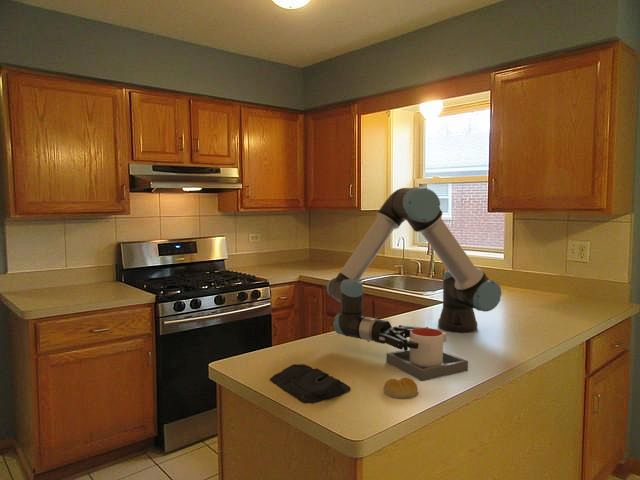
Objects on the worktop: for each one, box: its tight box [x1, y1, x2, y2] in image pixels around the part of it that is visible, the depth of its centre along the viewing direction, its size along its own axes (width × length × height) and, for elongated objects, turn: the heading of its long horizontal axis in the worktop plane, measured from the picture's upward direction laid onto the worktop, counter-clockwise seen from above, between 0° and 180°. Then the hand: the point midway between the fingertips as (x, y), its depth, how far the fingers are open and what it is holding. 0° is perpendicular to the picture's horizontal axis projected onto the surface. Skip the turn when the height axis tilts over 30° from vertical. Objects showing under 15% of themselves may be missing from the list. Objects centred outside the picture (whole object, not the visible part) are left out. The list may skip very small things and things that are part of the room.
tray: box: [385, 348, 469, 382], centre depth 146 cm, size 17×17×3 cm
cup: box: [409, 327, 444, 368], centre depth 146 cm, size 10×10×10 cm
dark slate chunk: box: [269, 363, 352, 405], centre depth 132 cm, size 15×22×5 cm
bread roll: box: [383, 377, 419, 400], centre depth 127 cm, size 8×9×4 cm
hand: (438, 342), depth 143 cm, fingers open, 12 cm apart
